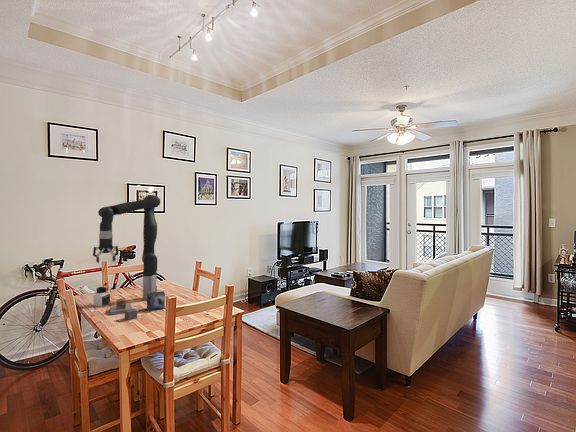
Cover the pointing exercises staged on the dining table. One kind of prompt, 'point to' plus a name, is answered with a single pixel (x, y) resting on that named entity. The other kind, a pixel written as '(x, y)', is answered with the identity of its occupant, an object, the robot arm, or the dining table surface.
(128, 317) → the charcoal block
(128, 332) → the dining table surface
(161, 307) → the small box
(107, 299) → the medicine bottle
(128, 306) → the slate coaster
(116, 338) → the dining table surface
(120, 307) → the walnut cube
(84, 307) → the dining table surface
